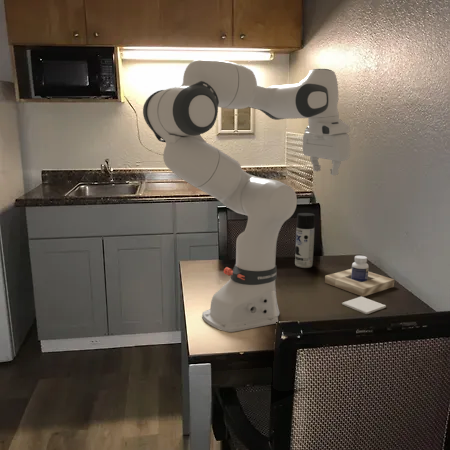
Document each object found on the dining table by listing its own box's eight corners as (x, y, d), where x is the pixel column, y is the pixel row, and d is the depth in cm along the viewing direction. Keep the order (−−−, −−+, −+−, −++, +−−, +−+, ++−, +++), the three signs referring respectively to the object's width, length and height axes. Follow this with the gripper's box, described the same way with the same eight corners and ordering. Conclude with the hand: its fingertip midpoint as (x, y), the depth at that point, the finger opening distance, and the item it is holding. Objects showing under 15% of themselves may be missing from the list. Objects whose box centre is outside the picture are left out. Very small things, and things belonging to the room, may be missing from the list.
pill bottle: (367, 288, 156) (370, 259, 154) (351, 286, 158) (353, 258, 155) (366, 282, 162) (368, 255, 160) (350, 281, 163) (352, 254, 161)
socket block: (363, 296, 149) (363, 289, 148) (324, 282, 161) (325, 275, 161) (393, 286, 158) (394, 279, 157) (355, 274, 170) (355, 267, 170)
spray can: (291, 263, 182) (293, 212, 178) (307, 262, 184) (310, 212, 180) (299, 268, 176) (301, 216, 172) (315, 267, 178) (318, 215, 174)
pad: (366, 314, 135) (366, 312, 135) (342, 304, 142) (342, 302, 142) (385, 307, 140) (386, 305, 140) (361, 298, 147) (361, 296, 147)
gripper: (296, 126, 147) (298, 170, 151) (334, 129, 129) (336, 178, 132) (314, 124, 149) (315, 167, 153) (353, 126, 131) (354, 175, 135)
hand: (325, 172), depth 143 cm, fingers open, 8 cm apart
